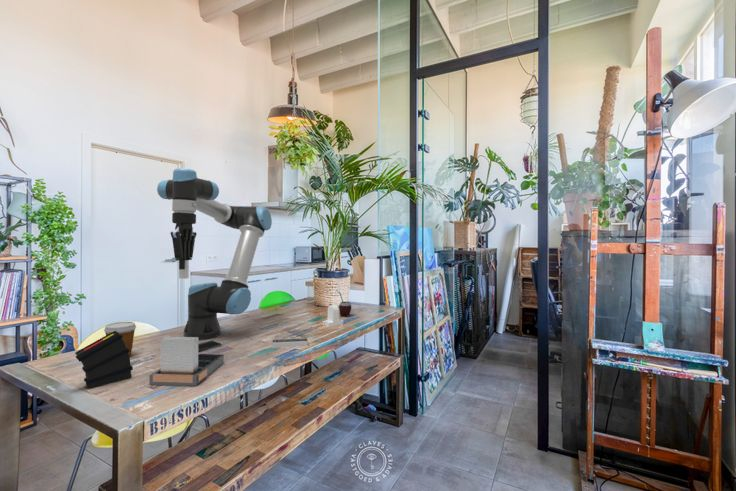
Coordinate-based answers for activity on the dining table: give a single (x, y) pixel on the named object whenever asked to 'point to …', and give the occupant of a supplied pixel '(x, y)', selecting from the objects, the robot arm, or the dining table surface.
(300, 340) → the multiport hub
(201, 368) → the slot rack
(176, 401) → the dining table surface
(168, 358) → the panel
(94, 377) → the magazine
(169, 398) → the dining table surface
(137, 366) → the dining table surface
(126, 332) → the disposable coffee cup
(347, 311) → the mate gourd
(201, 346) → the phone
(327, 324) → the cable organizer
